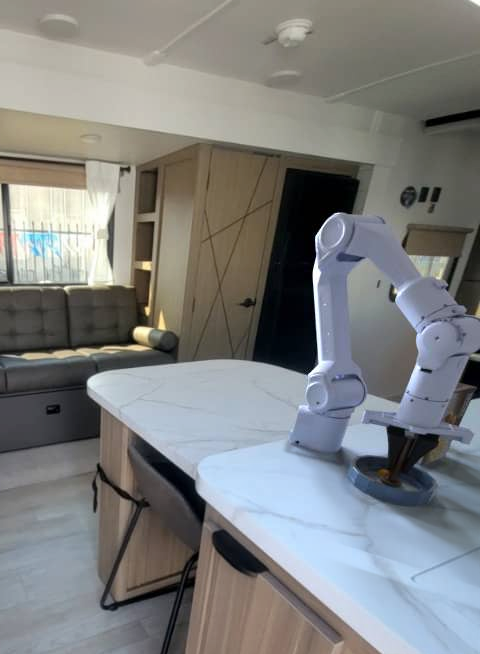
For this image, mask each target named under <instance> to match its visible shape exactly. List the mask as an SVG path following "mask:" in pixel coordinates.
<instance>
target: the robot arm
mask: <svg viewBox="0 0 480 654" xmlns="http://www.w3.org/2000/svg"><path fill="white" fill-rule="evenodd" d="M315 252H316V257H315V261H314V265H313V270H312V283H313V298H314V299H313V300H314V313H315V330H316V343H317V359H318V364H317V365H316V367H314V368H313V369H312V370H311V372H310V373H308V375H307V380H308V381H307V382H308V383H307V387H306V390H305V401H306V404H307V405H302V404H301V405H299V408H298V412H297V416H296V419H295V422H294V427H293V429H291V430H290V434H289V439H290V442H289V444H290V445H291V444H292V445H296V446H299V447H304V448H307V449H310V450H313V451H317V452H320V453H327V454H330V453H331V454H332V453H337V452H340V450H341V447H342V443H343V440H344V437H345V434H346V432H347V429H348V426H349V423H350V420H351V417H352V414H354V413H355V410H356V408H359V407H360V406H362V405H363V404H364V403H365V402H366V400H367V397H368V387H367V384H366V382H365V381H364V379H363V375H362V369H361V368H360V366H358V364H356V363H355V361H353V359H352V344H351V343H352V342H351V327H350V326H351V325H350V311H349V295H348V292H349V291H348V275H349V274H350V273H351V272H352V271H353V269H355V268H356V267H358V266H359V265H360V264H361V263H362V262H364V261H365V260H367V259H369V260H370V261H371V262H372V263H373V265H374V266H375V267H376V268H377V269H378V270H379V271H380V273H381V274H382V275H383V276H384V277H385V278H386V279H387V281H389V282H390V284H391V285H392V287H394V288H395V289H396V291H397V293H396V296H395V299H394V303H395V304H396V306H397V308H399V310H400V311H401V313H402V314H403V315H404V317H405V318H406V320H407V321H408V322H409V324H410V325H411V326H412V328H413V329H414V330H415V332H416V333H417V334H416V337H415V338H416V339H415V345H416V348H417V350H418V354H417V358H416V360H415V362H416V363H415V366H414V368H413V370H412V373H411V374H410V375H411V376H410V378H409V381H408V383H407V385H406V388H405V391H404V393H403V395H402V399H401V400H400V404H399V406H398V408H397V411H396V412H393V411H381V410H372V409H367V408H364V409H363V413H362V415H361V418H360V423H361V424H364V425H370V424H371V425H375V426H380V427H385V429H386V437H387V457H388V458H387V463H386V468H387V470H391V471H392V469H393V467H394V464H395V461H396V458H397V455H398V453H399V451H400V449H401V447H402V445H403V444H404V442H405V440H406V439H405V434H406V433H405V431H410V432H414V437H415V438H416V439H415V442H414V444H413V446H412V449H411V451H410V453H409V456H408V458H407V460H406V463H405V465H404V467H403V469H402V473H403V474H407V473H408V472H409V470H410V469H411V468H412V467H413V466H415V465H416V464H415V463H416V462H418V461H419V460H420V459H421V458H422V457H423V456H424V455H426V454H427V453H429V452H430V451H432V450H433V449H435V448H436V447H437V446H438V444H439V441H438V439H439V437H440V438H445V439H450V440H452V441H456V442H459V443H460V444H464V445H468V446H469V445H470V444H471V442H472V441H473V439H474V436H475V433H474V431H473V430H472V428H467V427H463V426H460V425H459V426H455V425H451V424H448V423H444V422H440V421H441V419H442V417H443V415H444V412H445V410H446V408H447V406H448V403H449V401H450V399H451V397H452V395H453V392H454V390H455V388H456V386H457V383H459V381H460V379H461V377H462V374H463V372H464V370H465V367H466V365H467V363H468V360H469V358H470V357H471V354H473V353H476V352H478V351H479V350H480V317H479V316H476V315H471V314H466V312H467V311H468V310H467V308H466V306H464V305H459V304H458V302H457V301H456V300H455V298H453V296H452V295H451V293H449V292H448V290H447V287H449V284H448V283H447V281H446V280H445V279H443V278H442V279H441V278H439V279H438V278H437V277H436V276H428V275H427V276H423V275H422V274H421V273H420V271H419V270H418V268H417V267H416V265H415V264H414V262H413V261H412V259H411V258H410V256H409V255H408V253H407V251H406V250H405V248H403V246H402V244H401V243H400V241H399V240H398V238H397V237H396V235H395V229H394V227H393V226H392V225H390V224H388V221H387V220H386V218H384V217H383V216H381V215H378V214H377V215H375V214H374V215H373V214H371V215H362V214H348V213H346V212H337V213H333V214H332V215H331V216H330V217H328V218H327V219H326V220H325V222H324V223H323V224H322V226H321V228H320V229H319V231H318V232H317V234H316V235H315ZM334 377H335V378H334ZM297 442H298V443H297Z"/></svg>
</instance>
